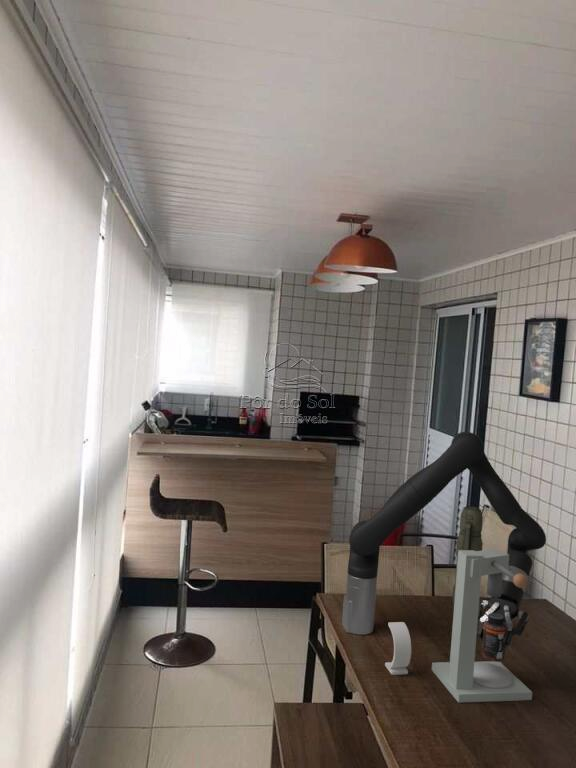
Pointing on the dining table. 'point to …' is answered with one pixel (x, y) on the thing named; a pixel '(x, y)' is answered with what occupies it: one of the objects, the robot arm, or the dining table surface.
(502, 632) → the supplement bottle
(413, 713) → the dining table surface
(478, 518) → the thermos
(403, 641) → the headphone stand
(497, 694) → the press
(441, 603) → the dining table surface
